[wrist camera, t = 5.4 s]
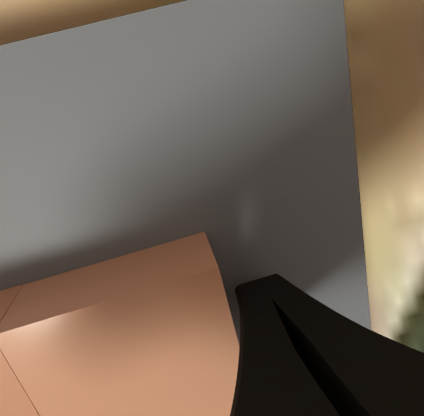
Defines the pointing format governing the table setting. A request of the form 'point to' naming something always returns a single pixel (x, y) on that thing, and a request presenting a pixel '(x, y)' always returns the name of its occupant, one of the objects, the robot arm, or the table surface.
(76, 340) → the tile
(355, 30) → the table surface
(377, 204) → the table surface
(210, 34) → the grey flat block
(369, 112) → the table surface
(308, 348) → the robot arm
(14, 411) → the tile
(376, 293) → the table surface
